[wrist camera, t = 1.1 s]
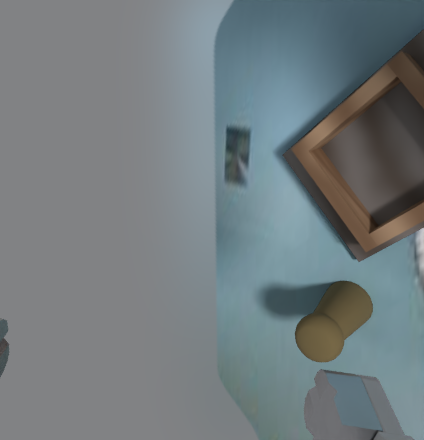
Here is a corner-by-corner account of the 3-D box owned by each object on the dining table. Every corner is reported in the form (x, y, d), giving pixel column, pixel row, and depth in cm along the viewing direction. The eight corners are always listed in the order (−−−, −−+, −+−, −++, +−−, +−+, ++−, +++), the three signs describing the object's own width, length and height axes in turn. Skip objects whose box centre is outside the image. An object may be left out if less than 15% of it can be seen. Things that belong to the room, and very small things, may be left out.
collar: (434, 22, 36) (425, 14, 32) (552, 157, 33) (555, 163, 29) (286, 154, 48) (268, 158, 45) (361, 259, 46) (348, 272, 42)
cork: (317, 288, 50) (277, 325, 42) (357, 274, 46) (322, 312, 38) (339, 329, 50) (303, 375, 41) (382, 319, 46) (351, 367, 38)
